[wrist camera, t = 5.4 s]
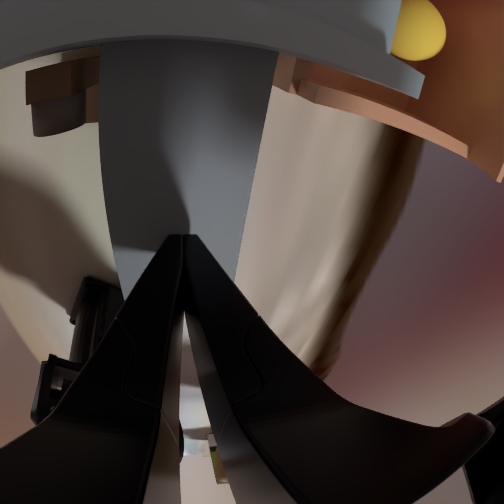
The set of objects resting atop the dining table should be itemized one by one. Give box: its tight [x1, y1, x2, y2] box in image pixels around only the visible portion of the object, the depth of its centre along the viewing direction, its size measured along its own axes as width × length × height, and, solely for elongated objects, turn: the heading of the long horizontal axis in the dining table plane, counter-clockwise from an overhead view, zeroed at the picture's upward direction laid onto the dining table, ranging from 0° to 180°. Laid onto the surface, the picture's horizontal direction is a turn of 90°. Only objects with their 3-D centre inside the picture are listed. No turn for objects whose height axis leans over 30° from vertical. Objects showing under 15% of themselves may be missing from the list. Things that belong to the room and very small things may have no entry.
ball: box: [390, 0, 446, 61], centre depth 8 cm, size 4×4×4 cm
